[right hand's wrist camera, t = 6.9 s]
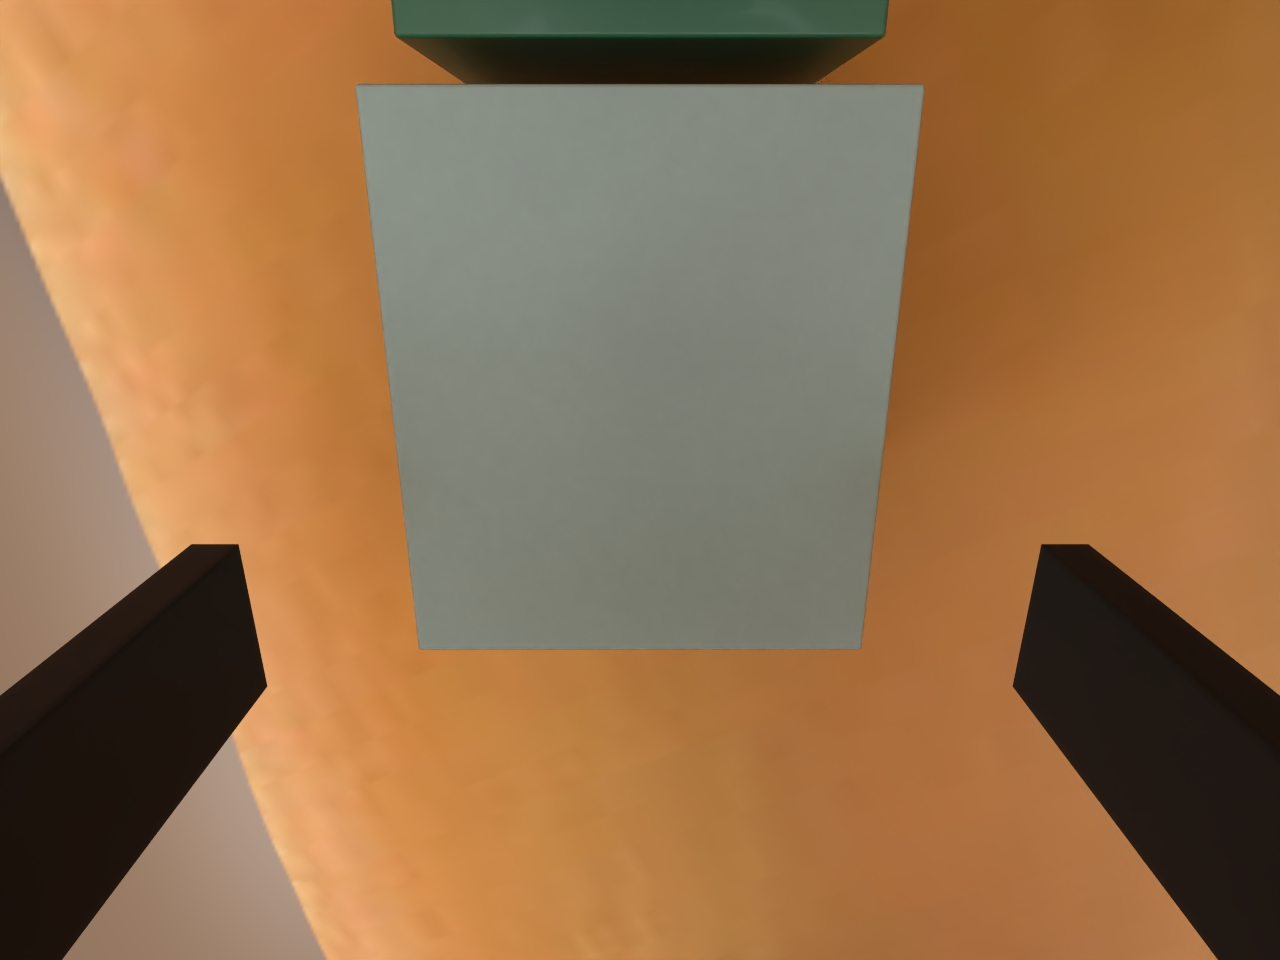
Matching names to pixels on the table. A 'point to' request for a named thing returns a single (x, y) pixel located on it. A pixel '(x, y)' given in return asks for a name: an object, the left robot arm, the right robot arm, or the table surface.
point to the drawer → (640, 39)
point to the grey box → (640, 355)
